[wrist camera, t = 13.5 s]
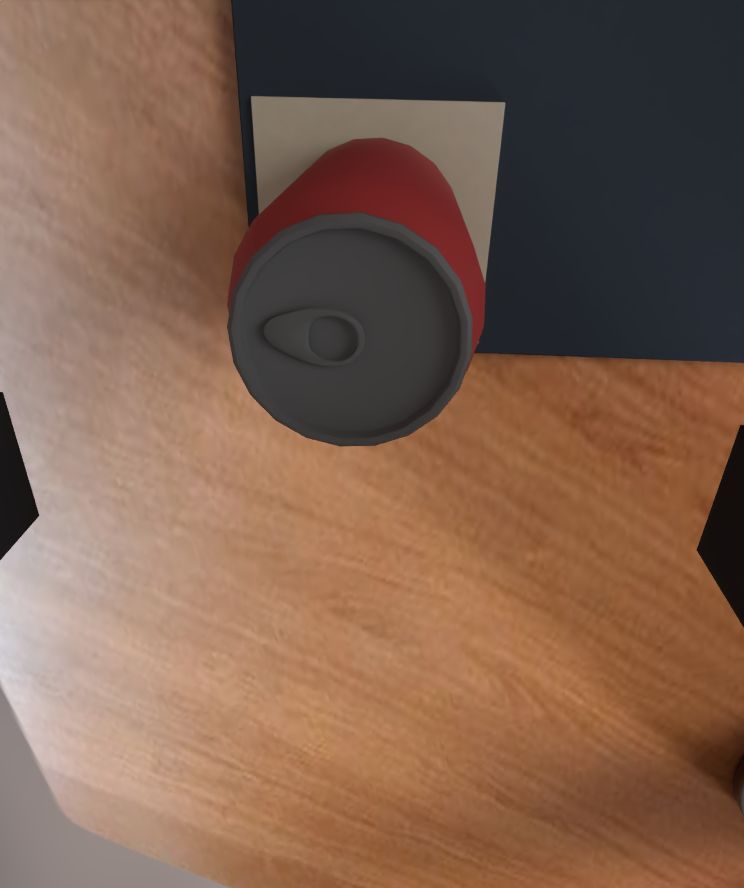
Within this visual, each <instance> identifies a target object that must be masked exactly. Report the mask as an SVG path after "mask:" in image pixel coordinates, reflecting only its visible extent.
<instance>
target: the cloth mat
mask: <svg viewBox="0 0 744 888" xmlns="http://www.w3.org/2000/svg"><path fill="white" fill-rule="evenodd" d="M231 3H232V16H233V29H234V42H235V55H236V68H237V81H238V94H239V107H240V120H241V133H242V146H243V159H244V172H245V185H246V198H247V211H248V224H249V227H250V225H251V223H252V222H253V220H254V219H255V218H256V217H257V216H258V215H259V214H260V213H261V212H262V211H263V210H264V209H265V208H266V207H268V206H269V205H270V204H271V203H272V202H273V201H274V200H275V199H276V198H277V197H278V196H279V195H280V194H281V193H282V192H283V191H284V190H285V189H287V188H288V187H289V186H290V185H291V184H292V183H293V182H294V181H295V180H296V179H297V178H298V177H299V176H300V175H301V174H302V173H303V172H304V171H305V170H307V169H308V168H309V167H310V166H311V165H312V164H313V163H314V162H315V161H316V160H317V159H319V158H320V157H321V156H322V155H323V154H324V153H325V152H326V151H327V150H330V149H332V148H334V147H337V146H339V145H341V144H344V143H346V142H348V141H351V140H353V139H365V138H386V139H390V140H393V141H396V142H400V143H403V144H406V145H410V146H412V147H413V148H414V149H416V150H417V151H419V152H420V153H421V154H423V155H424V156H425V157H427V158H428V159H430V160H431V161H432V162H434V163H435V165H436V166H437V167H438V169H439V170H440V172H441V173H442V174H443V176H444V177H445V179H446V180H447V182H448V183H449V184H450V186H451V187H452V190H453V193H454V195H455V198H456V201H457V203H458V206H459V208H460V211H461V214H462V216H463V219H464V222H465V224H466V227H467V229H468V232H469V235H470V237H471V240H472V243H473V245H474V248H475V252H476V255H477V258H478V262H479V265H480V268H481V272H482V275H483V278H484V282H485V285H486V287H485V315H484V327H483V330H482V333H481V336H480V338H479V341H478V344H477V346H476V349H475V352H474V353H499V354H526V355H553V356H579V357H606V358H633V359H660V360H686V361H713V362H740V363H744V0H231Z"/></svg>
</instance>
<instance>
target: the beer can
mask: <svg viewBox="0 0 744 888" xmlns="http://www.w3.org/2000/svg"><path fill="white" fill-rule="evenodd" d="M485 287H486V285H485V282H484V278H483V275H482V272H481V268H480V265H479V262H478V258H477V255H476V252H475V248H474V245H473V243H472V240H471V237H470V235H469V232H468V229H467V227H466V224H465V222H464V219H463V216H462V214H461V211H460V208H459V206H458V203H457V201H456V198H455V195H454V193H453V190H452V187H451V186H450V184H449V183H448V182H447V180H446V179H445V177H444V176H443V174H442V173H441V172H440V170H439V169H438V167H437V166H436V165H435V163H434V162H432V161H431V160H430V159H428V158H427V157H425V156H424V155H423V154H421V153H420V152H419V151H417V150H416V149H414V148H413V147H412V146H410V145H406V144H403V143H400V142H396V141H393V140H390V139H386V138H365V139H353V140H351V141H348V142H346V143H344V144H341V145H339V146H337V147H334V148H332V149H330V150H327V151H326V152H325V153H324V154H323V155H322V156H321V157H320V158H319V159H317V160H316V161H315V162H314V163H313V164H312V165H311V166H310V167H309V168H308V169H307V170H305V171H304V172H303V173H302V174H301V175H300V176H299V177H298V178H297V179H296V180H295V181H294V182H293V183H292V184H291V185H290V186H289V187H288V188H287V189H285V190H284V191H283V192H282V193H281V194H280V195H279V196H278V197H277V198H276V199H275V200H274V201H273V202H272V203H271V204H270V205H269V206H268V207H266V208H265V209H264V210H263V211H262V212H261V213H260V214H259V215H258V216H257V217H256V218H255V219H254V220H253V222H252V223H251V225H250V227H249V229H248V231H247V233H246V235H245V237H244V239H243V241H242V242H241V244H240V246H239V248H238V250H237V252H236V254H235V256H234V261H233V268H232V275H231V281H230V288H229V295H228V304H227V305H228V311H229V319H228V325H227V329H228V334H229V340H230V346H231V351H232V357H233V362H234V365H235V367H236V368H237V370H238V372H239V374H240V376H241V378H242V380H243V382H244V384H245V386H246V387H247V389H248V391H249V393H250V395H251V396H252V397H253V398H254V399H255V400H256V401H257V402H258V403H259V404H260V405H261V406H262V407H263V408H264V409H265V410H266V411H267V412H268V413H269V414H270V415H271V416H272V417H273V418H274V419H275V420H276V421H278V422H279V423H281V424H283V425H285V426H287V427H288V428H290V429H292V430H294V431H295V432H297V433H299V434H301V435H302V436H304V437H306V438H309V439H313V440H317V441H321V442H325V443H329V444H333V445H337V446H375V445H379V444H382V443H385V442H388V441H392V440H395V439H398V438H401V437H405V436H408V435H410V434H411V433H413V432H414V431H416V430H417V429H419V428H420V427H422V426H423V425H425V424H426V423H428V422H429V421H431V420H432V419H434V418H435V417H437V416H438V415H439V413H440V412H441V411H442V410H443V408H444V407H445V406H446V405H447V404H448V402H449V401H450V400H451V399H452V397H453V396H454V395H455V394H456V392H457V391H458V390H459V388H460V386H461V383H462V380H463V378H464V375H465V372H466V371H467V370H468V368H469V365H470V362H471V360H472V357H473V354H474V352H475V349H476V346H477V344H478V341H479V338H480V336H481V333H482V330H483V327H484V315H485Z"/></svg>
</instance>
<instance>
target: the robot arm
mask: <svg viewBox="0 0 744 888" xmlns="http://www.w3.org/2000/svg"><path fill="white" fill-rule="evenodd" d="M38 516H39V513H38V510H37V506H36V503H35V499H34V496H33V493H32V489H31V486H30V483H29V479H28V476H27V472H26V469H25V466H24V462H23V459H22V455H21V452H20V449H19V445H18V442H17V439H16V435H15V432H14V428H13V425H12V422H11V418H10V415H9V411H8V408H7V405H6V401H5V398H4V395H3V392H0V560H1V559H2V558H3V557H4V555H5V554H6V553H7V552H8V551H9V550H10V549H11V547H12V546H13V545H14V544H15V543H16V542H17V541H18V539H19V538H20V537H21V536H22V535H23V534H24V532H25V531H26V530H27V529H28V528H29V527H30V526H31V524H32V523H33V522H34V521H35V520H36V519H37V518H38ZM697 551H698V553H699V555H700V556H701V558H702V560H703V561H704V563H705V565H706V566H707V568H708V569H709V571H710V573H711V574H712V576H713V578H714V579H715V581H716V583H717V584H718V586H719V588H720V589H721V591H722V592H723V594H724V596H725V597H726V599H727V601H728V602H729V604H730V606H731V607H732V609H733V611H734V612H735V614H736V615H737V617H738V619H739V620H740V622H741V624H742V625H743V627H744V425H740V428H739V431H738V434H737V436H736V439H735V442H734V445H733V448H732V451H731V454H730V456H729V459H728V462H727V465H726V468H725V471H724V474H723V476H722V479H721V482H720V485H719V488H718V491H717V494H716V496H715V499H714V502H713V505H712V508H711V511H710V514H709V516H708V519H707V522H706V525H705V528H704V531H703V534H702V536H701V539H700V542H699V545H698V548H697ZM733 787H734V794H735V798H736V800H737V802H738V804H739V807H740V809H741V811H742V813H743V816H744V758H743V760H742V761H741V763H740V764H739V766H738V769H737V771H736V774H735V777H734V785H733Z"/></svg>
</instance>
